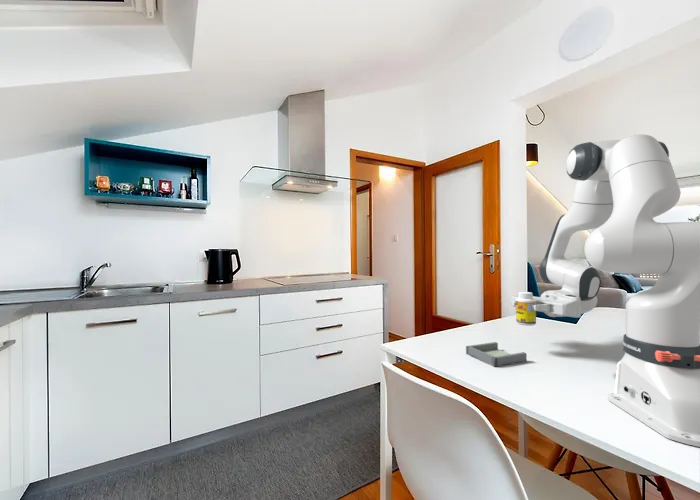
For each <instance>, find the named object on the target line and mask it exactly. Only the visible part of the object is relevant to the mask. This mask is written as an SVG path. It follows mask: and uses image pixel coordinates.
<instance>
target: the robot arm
mask: <svg viewBox="0 0 700 500" xmlns="http://www.w3.org/2000/svg"><path fill="white" fill-rule="evenodd" d="M669 157H670V152H669V149H668V146H667V145H666V144H665V143H664V142H662V141H659V140H658V139H656V138H655V137H654V136H651V135H649V134H634V135H633V134H632V135H630V136H627V137H625V138H623V139H616V140H615V139H614V140H613V139H612V140H611V139H610V140H603V141H602V140H601V141H597V142H595V141H594V142H593V141H589V142H583V143H580V144H575V146H574V147H573V148H571V150H570V151H569V152H568V156H567V158H566V163H565V167H566V174H567V175H568V176H569V178H570V179H571V180H576V183H575V186H574V188H573V193H572V198H571V202H570V206H569V208H568V210H567V212H566V213H565V214H562V215H561V216H560V217H559V218H558V220H557V222H556V224H555V226H554V229H553V231H552V233H551V234H552V235H551V238H550V240H549V243H548V247H547V250H546V252H545V254H544V257H543V259H542V261H541V263H539V264H540V265H539V267H538V271H539V272H538V273H539V275H540V278H541V279H542V281H544V282H546V283H549V284H551V285H555V286H558V287H561V289H553V290H546V291H543V293H541V295H540V296H534V295H533V299H535V300H536V304H534V305H531V307H532V308H531V309H532V310H534V311H536V312H541V313H544V314H545V315H547V316H548V317H551V318H556V317H558V318H559V317H560V318H562V317H566V318H567V317H568V318H569V317H570V318H581V317H582V314H586V313H589V312H590V311H592V310H594V309H595V308H596V307H597V304H598V296H597V295H598V293H599V291H600V288H601V284H602V279H601V276H600V273H599V272H598V271H603V272H609V273H615V274H621V275H658V279H657V281H656V283H655V284H654V285H653V286H652V287H651V288H648V289H645V290H644V291H640V292H637V293H635V294H634V295H632V296H631V297H630V298H629V299H628V300H627V301H626V303H625V333H624V334H623V337H622V338H623V339H622V345H623V348H622V349H623V350H622V351H623V352H624V355H623V356H622V358H621V359H620V360H619V361H618V362H617V364H616V370H615V382H614V383H615V384H614V392H611V393H608V396H607V400H608V401H609V402H610V403H612V404H613V405H615V406H617V407H619V408H620V409H622V410H623V411H624V412H626V413H628V414H629V415H631V416H632V417H633V418H635V419H637V420H638V421H640V422H641V423H643V424H644V425H646V426H648V427H649V428H651V429H653V431H655V432H657V433H659V434H660V435H662V436H663V437H665V438H667V439H669V440H673V441H676V442H678V443H682V444H686V445H690V446H694V447H699V448H700V221H679V222H677V221H675V222H657V221H656V220H654V218H656V217H658V216H661V215H663V214H665V213H667V212H668V211H669V210H671V209H672V208H674V207H675V206H676V205H677V204H678V202H679V200H680V198H681V194H682V193H681V189H680V185H679V183H678V180H677V177H676V174H675V171H674V169H673V165H672V162H671V160H670V158H669ZM588 230H593V231H591V232H590V234H589V235H588V236H587V237H586V239H585V242H584V245H583V252H584V256H585V258H586V260H587V262H588V263H589V264H590V266H589V265H586V264H584V263H579V262H576V261H572V260H568V259H567V258H566V257H565V253H566V250H567V247H568V245H569V243H570V240H571V237H572V236H573V235H574V234H575V233H577V232H582V231H588ZM517 298H519V296H518V295H512V296H510V304H511V306H512V307H514V308H516V299H517Z"/></svg>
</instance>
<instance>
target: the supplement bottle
mask: <svg viewBox="0 0 700 500" xmlns="http://www.w3.org/2000/svg"><path fill="white" fill-rule="evenodd" d="M517 296H519V298H517V299H516V307H515V315H516V317H515V318H516V319H515V321H516V323H517V325H522V326H528V327H529V326H535V325H537V311H534V310H532V309H531V308H532V307H531V305H534V304H536V300H535V299H533V296H534V294H533V292H531V291H530V292H529V291H519V292H518V295H517Z"/></svg>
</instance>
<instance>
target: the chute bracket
mask: <svg viewBox="0 0 700 500" xmlns="http://www.w3.org/2000/svg"><path fill="white" fill-rule="evenodd" d="M465 351H466V352H465V355H468V356H470V357H472V358H474V359H477V360H479V361H481V362H483V363H484V364H487V365H490V366H492V367H494V368H498V367H504V366H509V365H514V364H515V365H516V364H520V363H526V362H527V353H526V352H524V351H523V352H518V353H508V352H507V351H504V350H501V349H499V344H498V342H497V341H493V342H485V343H479V344H473V345H466V346H465Z"/></svg>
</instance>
